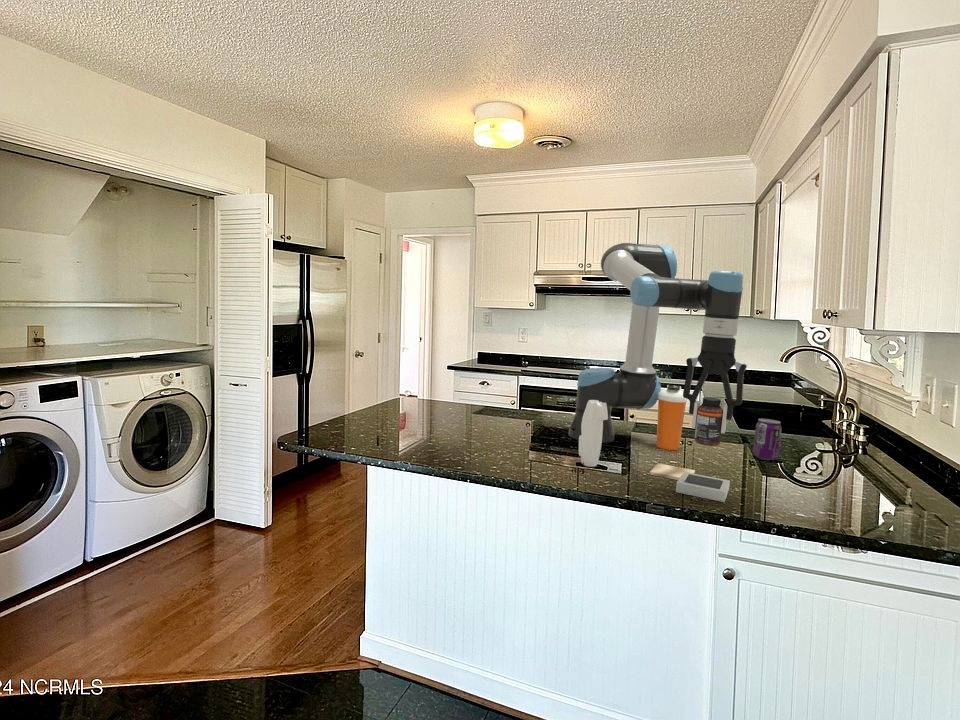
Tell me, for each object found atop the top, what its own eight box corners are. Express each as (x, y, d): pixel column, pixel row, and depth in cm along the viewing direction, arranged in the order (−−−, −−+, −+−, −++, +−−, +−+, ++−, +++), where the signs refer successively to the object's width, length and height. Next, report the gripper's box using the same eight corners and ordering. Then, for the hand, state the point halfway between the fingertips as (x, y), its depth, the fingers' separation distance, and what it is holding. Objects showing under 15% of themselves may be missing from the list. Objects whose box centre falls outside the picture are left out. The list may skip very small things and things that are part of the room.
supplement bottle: (707, 439, 141) (712, 395, 140) (725, 446, 136) (731, 400, 134) (688, 440, 139) (693, 396, 138) (706, 447, 133) (711, 400, 132)
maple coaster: (649, 474, 149) (650, 471, 149) (657, 466, 158) (657, 463, 158) (689, 482, 144) (689, 479, 144) (694, 473, 153) (695, 470, 153)
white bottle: (607, 468, 153) (592, 460, 160) (612, 403, 151) (597, 398, 158) (586, 469, 151) (572, 461, 157) (592, 403, 149) (577, 398, 155)
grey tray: (675, 492, 136) (676, 482, 136) (683, 480, 146) (684, 471, 145) (724, 502, 131) (725, 492, 130) (729, 489, 140) (730, 480, 140)
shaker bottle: (653, 448, 177) (659, 386, 175) (652, 442, 186) (658, 383, 184) (683, 452, 175) (690, 389, 173) (680, 445, 184) (686, 385, 182)
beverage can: (780, 462, 170) (785, 424, 169) (756, 460, 171) (760, 421, 170) (773, 456, 177) (778, 419, 176) (749, 454, 178) (753, 417, 177)
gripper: (675, 333, 135) (665, 426, 138) (762, 340, 126) (749, 439, 129) (680, 331, 142) (671, 420, 145) (763, 339, 133) (751, 433, 136)
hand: (708, 429), depth 137 cm, fingers closed on supplement bottle, 6 cm apart
